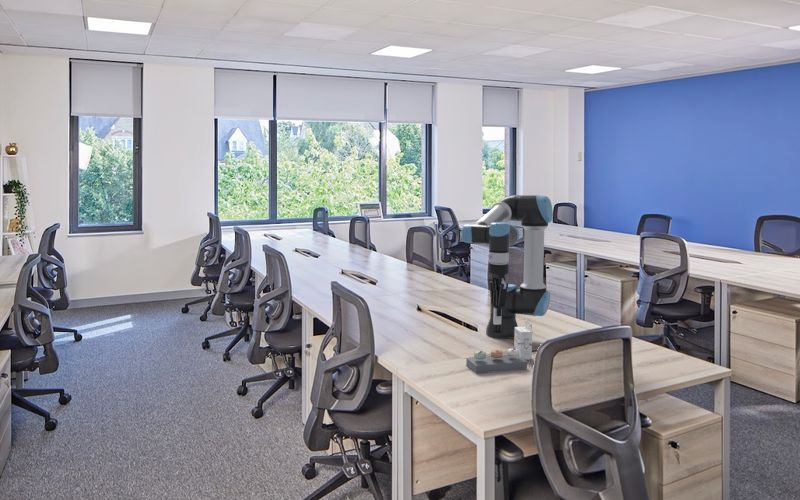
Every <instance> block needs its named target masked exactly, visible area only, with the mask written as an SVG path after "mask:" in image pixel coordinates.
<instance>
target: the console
mask: <svg viewBox="0 0 800 500" xmlns="http://www.w3.org/2000/svg"><path fill="white" fill-rule="evenodd" d="M465 359H466V365H465V366H466V367H467V368H469V369H470V371H472V372H474V373H475V374H487V373H496V372H508V371H517V370H518V371H519V370H527V369H528V361H527V360H524V359H523V358H521V357H520V356H517V357H511V356H508V354H502V358H493V357H491V355H490V356H486V358H485V359H482V360H479V359H475V358H474V357H466V358H465Z"/></svg>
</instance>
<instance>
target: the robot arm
mask: <svg viewBox="0 0 800 500" xmlns="http://www.w3.org/2000/svg"><path fill="white" fill-rule="evenodd" d="M553 211H554V210H553V205H552V201H551V199H550V198H549V197H548V196H546V195H536V194H535V195H534V194H533V195H532V194H531V195H525V194H524V195H523V194H521V195H519V194H514V195H509V196H507V197H504V198H502V199H499V200H498V201H496V202H494V204H493V205H492V206H491V208H490V210H489V211H488V212H487V213H486V214H484V215H483V216H482V217H481V218H480V219H478V220H477V221H476V222H474V224H473V223H468V224H464V225H463V226H462V228H461V239H462V241H463V242H464V243H467V244H478V245H479V244H481V245H489V247H488V255H487V258H488V262H489V263H488V273H489V275H491V278H488V284H489V295H490V301H489V303H490V306H489V307H490V311H489V312H490V313H489V315H490V316H489V321H488V323H487V325H486V326H487V327H486V329H485V330H486V331H485V332H486V333H485V334H486V335H487V336H489V337H492V338H495V339H514V338H513V337H514V336H515V327H519V325H518V322H517V317H516V315H523V316H533V317H543V316H545V315H546V314H547V312H548V310H549V306H550V302H551V292H550V291H549V290H547V285H546V284H545V283H544V261H545V260H544V259H545V258H544V254H545V253H544V252H545V230H546V229H547V228H548V227H549V223H551V222H552V221H553V216H554V215H553V214H554V212H553ZM509 222H521V227H522V228H523V229H524V240H523V241H524V243H523V244H524V245H523V246H524V247H523V248H524V252H523V253H524V254H523V282H522V283H521V284H520V285H519V288H517V285H516V284H512V283H506V277H505V275H507V274H509V271H510V269H509V264H508V263H509V262H510V246H512V245H514V244H516V243H517V242H518V240H519V239H520V231H519V229H518V228H517V227H516V226H514V225H510V223H509Z"/></svg>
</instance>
